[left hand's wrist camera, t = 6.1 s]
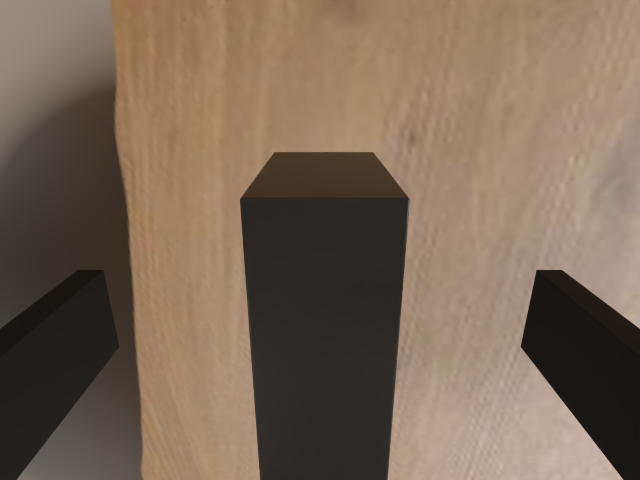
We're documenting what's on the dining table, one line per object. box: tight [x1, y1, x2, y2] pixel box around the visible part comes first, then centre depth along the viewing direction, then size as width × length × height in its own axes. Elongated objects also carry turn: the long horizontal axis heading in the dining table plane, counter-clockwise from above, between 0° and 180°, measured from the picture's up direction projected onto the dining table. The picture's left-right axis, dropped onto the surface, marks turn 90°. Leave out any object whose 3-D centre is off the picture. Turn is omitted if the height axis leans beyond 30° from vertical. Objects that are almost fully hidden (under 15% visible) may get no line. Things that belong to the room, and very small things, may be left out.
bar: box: [240, 152, 410, 480], centre depth 20 cm, size 26×5×9 cm, turn 0°
